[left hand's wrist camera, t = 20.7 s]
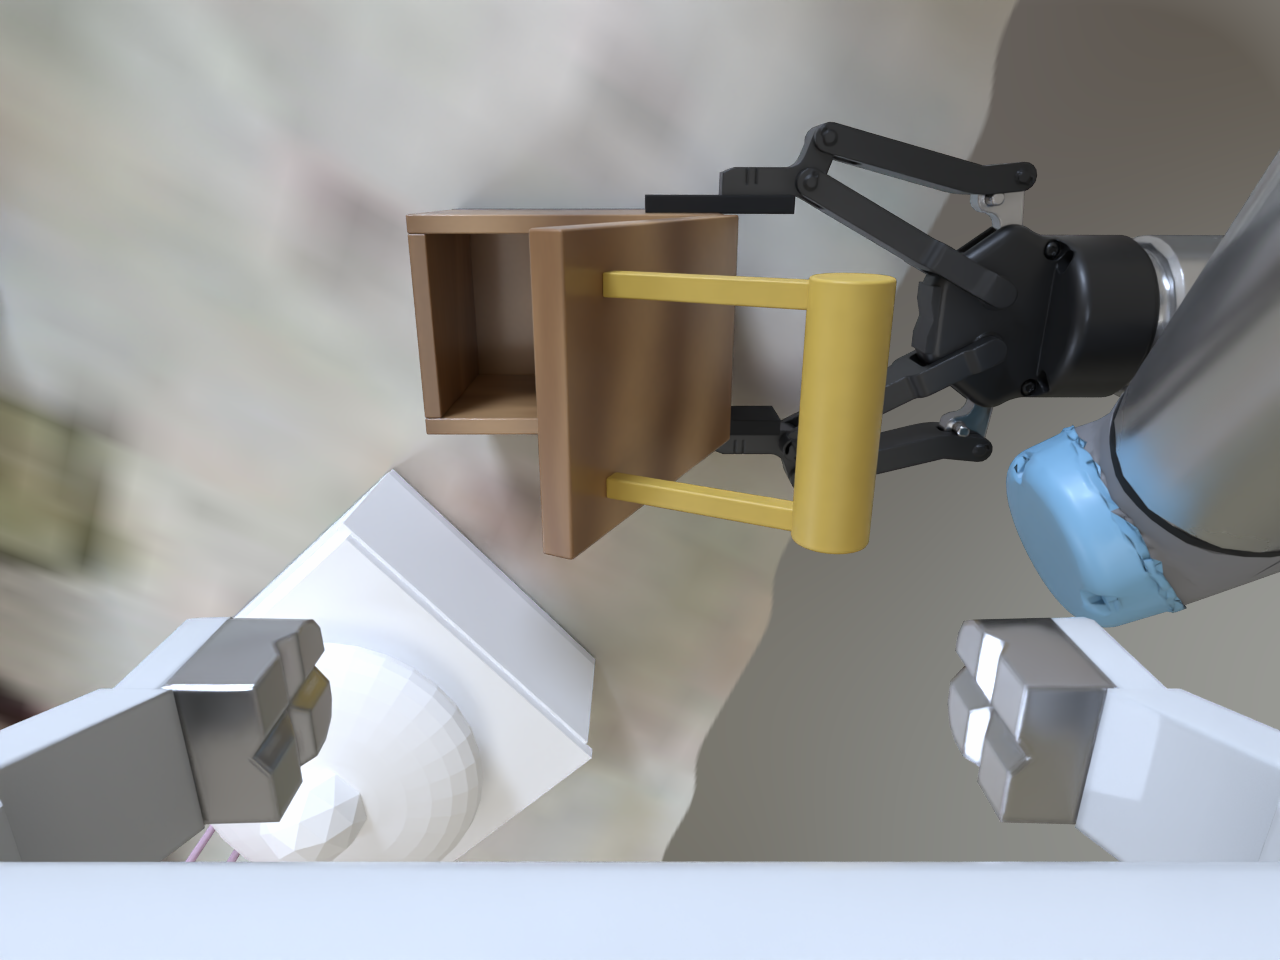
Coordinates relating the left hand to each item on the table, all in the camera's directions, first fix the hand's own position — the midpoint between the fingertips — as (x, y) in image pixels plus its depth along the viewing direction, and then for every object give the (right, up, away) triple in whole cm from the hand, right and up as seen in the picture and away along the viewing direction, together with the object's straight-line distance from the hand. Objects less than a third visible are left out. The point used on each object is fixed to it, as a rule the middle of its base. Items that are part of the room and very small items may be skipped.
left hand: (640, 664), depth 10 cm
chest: (-3, +12, +33) cm, 36 cm away
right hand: (0, +10, +28) cm, 29 cm away
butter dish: (-15, -9, +41) cm, 44 cm away
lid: (0, +7, +18) cm, 19 cm away
